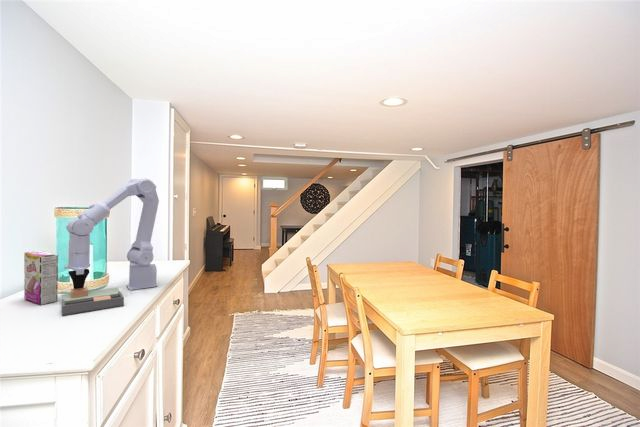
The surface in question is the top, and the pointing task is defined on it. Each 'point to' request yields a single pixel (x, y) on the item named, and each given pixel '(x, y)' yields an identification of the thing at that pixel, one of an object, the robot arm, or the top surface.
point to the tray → (91, 305)
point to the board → (92, 295)
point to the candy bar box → (40, 277)
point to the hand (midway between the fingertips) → (78, 290)
